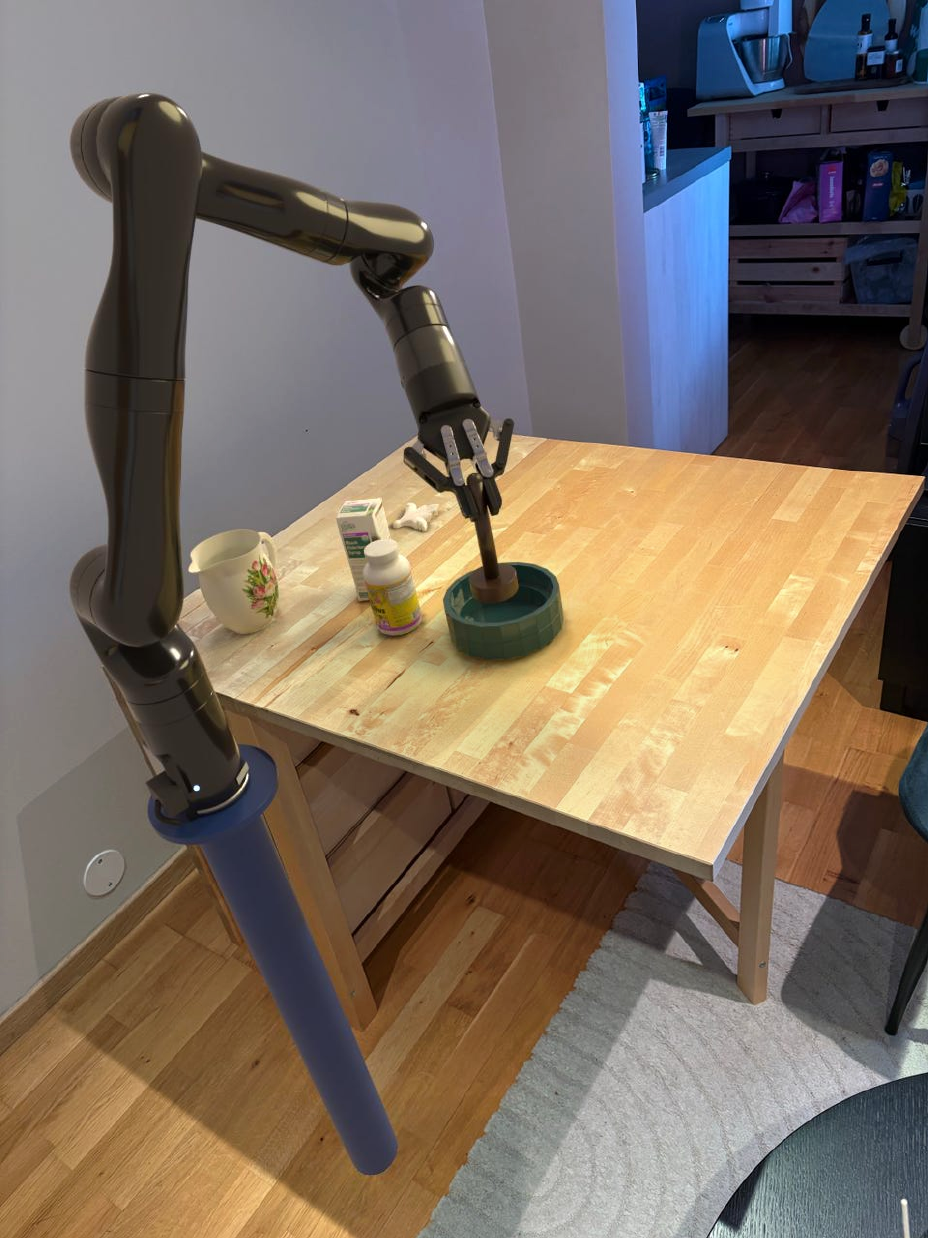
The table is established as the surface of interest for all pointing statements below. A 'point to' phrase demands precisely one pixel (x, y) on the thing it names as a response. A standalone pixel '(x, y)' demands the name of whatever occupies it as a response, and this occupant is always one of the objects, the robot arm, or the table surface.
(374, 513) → the syrup box
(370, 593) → the supplement bottle
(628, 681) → the table surface
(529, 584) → the bowl
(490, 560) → the brown peg on disc
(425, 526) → the acanthus leaf ornament
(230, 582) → the pitcher
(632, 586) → the table surface
